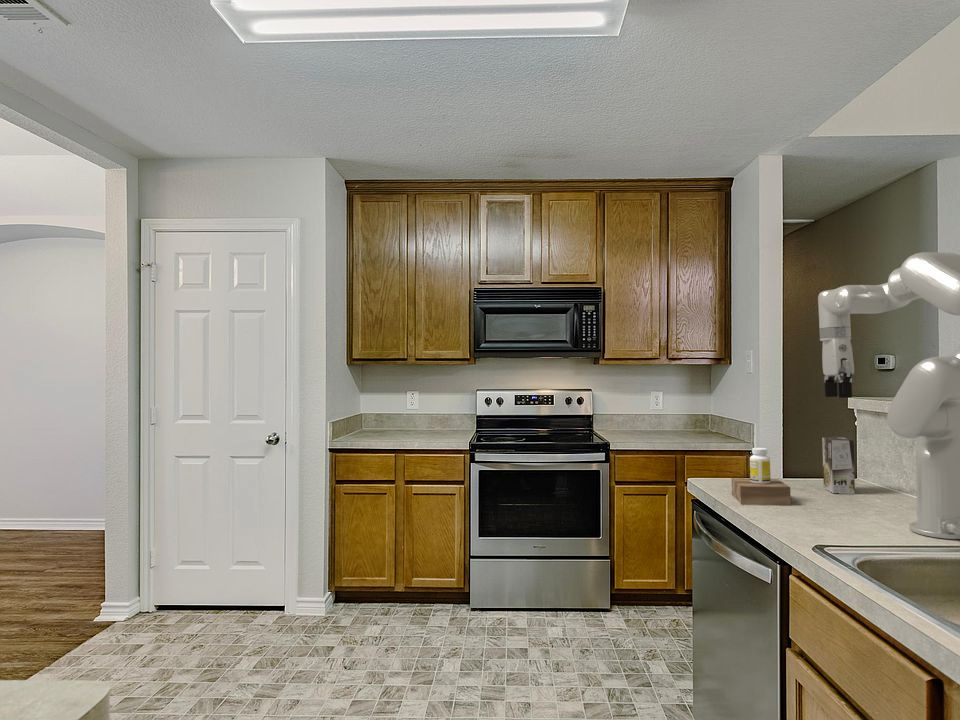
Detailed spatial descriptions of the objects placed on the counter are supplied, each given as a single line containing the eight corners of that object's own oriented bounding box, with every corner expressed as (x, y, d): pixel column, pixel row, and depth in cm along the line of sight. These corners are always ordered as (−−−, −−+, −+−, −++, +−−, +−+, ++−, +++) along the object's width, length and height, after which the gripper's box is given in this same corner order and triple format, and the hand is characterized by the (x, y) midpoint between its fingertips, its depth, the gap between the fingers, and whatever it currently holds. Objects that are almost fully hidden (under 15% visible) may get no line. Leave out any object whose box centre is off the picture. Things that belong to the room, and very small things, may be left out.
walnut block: (790, 505, 181) (790, 487, 181) (741, 504, 183) (740, 486, 183) (778, 495, 194) (777, 478, 194) (731, 494, 196) (731, 478, 196)
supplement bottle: (771, 481, 190) (770, 447, 190) (770, 484, 185) (769, 450, 185) (750, 480, 192) (750, 446, 192) (749, 483, 187) (748, 449, 187)
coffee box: (856, 494, 194) (854, 439, 194) (832, 494, 195) (831, 439, 195) (845, 488, 203) (844, 436, 203) (822, 488, 204) (821, 436, 204)
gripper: (863, 332, 171) (866, 397, 170) (837, 336, 188) (840, 396, 187) (832, 333, 172) (835, 398, 171) (809, 337, 189) (812, 396, 188)
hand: (838, 397), depth 179 cm, fingers open, 9 cm apart
